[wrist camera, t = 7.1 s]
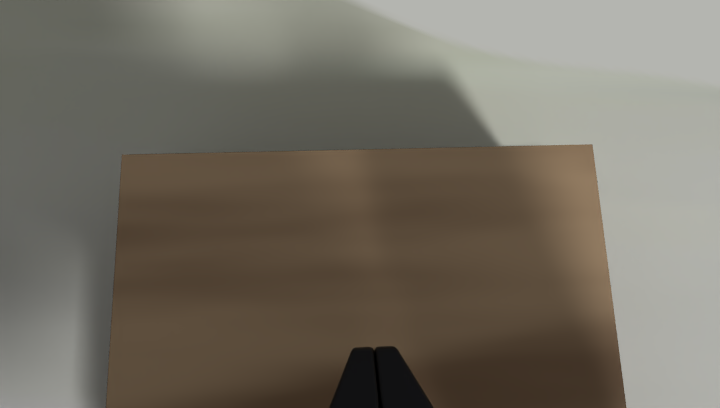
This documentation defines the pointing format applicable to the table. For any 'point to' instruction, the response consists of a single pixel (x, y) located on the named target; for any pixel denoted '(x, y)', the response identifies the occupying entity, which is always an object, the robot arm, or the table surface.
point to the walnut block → (362, 277)
